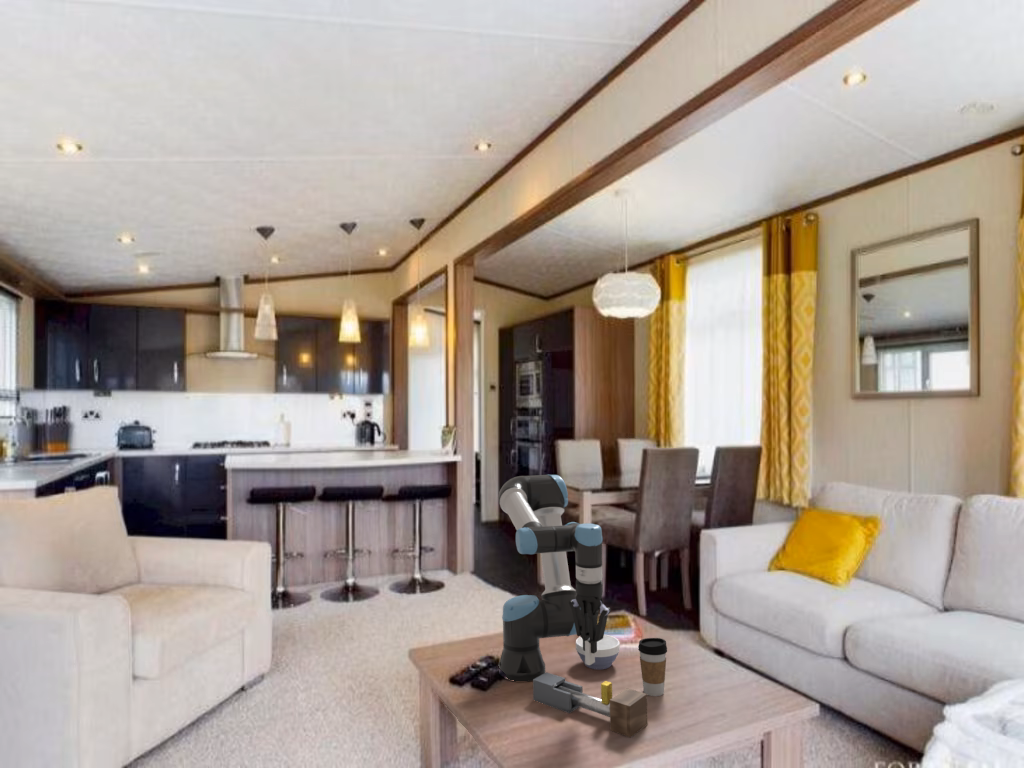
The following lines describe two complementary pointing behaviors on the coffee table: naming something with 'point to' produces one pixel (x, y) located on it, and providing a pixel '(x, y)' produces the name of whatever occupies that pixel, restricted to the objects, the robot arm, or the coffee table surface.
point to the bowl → (601, 652)
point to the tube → (592, 699)
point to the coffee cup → (653, 665)
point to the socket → (628, 712)
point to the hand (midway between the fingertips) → (590, 663)
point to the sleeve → (554, 692)
